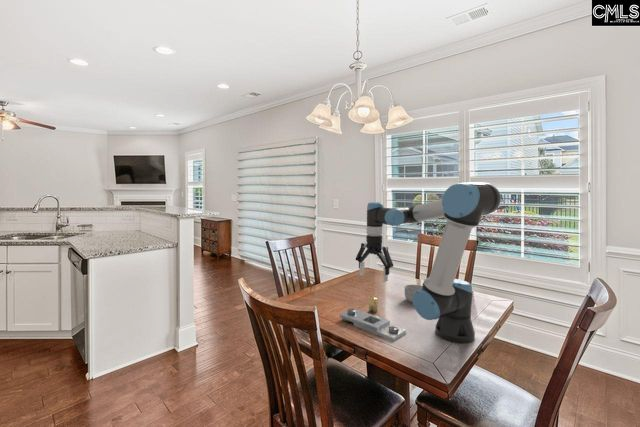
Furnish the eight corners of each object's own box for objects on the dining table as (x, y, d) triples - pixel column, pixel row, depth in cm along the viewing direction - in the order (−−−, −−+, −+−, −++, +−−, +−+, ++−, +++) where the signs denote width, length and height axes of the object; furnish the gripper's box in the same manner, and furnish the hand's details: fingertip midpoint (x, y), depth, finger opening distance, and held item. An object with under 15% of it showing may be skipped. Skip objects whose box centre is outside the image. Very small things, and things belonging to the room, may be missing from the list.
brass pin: (378, 311, 159) (379, 297, 158) (374, 314, 156) (374, 300, 155) (371, 309, 161) (372, 295, 161) (367, 311, 158) (367, 297, 158)
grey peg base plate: (406, 333, 136) (406, 323, 136) (393, 341, 129) (393, 331, 129) (353, 314, 156) (353, 305, 155) (339, 320, 148) (339, 311, 148)
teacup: (401, 302, 171) (402, 287, 170) (406, 296, 180) (407, 282, 180) (429, 307, 164) (429, 292, 164) (432, 300, 174) (433, 286, 173)
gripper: (401, 237, 149) (400, 282, 151) (358, 230, 166) (357, 271, 168) (393, 239, 144) (391, 285, 146) (349, 232, 161) (348, 274, 163)
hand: (373, 278), depth 157 cm, fingers open, 13 cm apart
